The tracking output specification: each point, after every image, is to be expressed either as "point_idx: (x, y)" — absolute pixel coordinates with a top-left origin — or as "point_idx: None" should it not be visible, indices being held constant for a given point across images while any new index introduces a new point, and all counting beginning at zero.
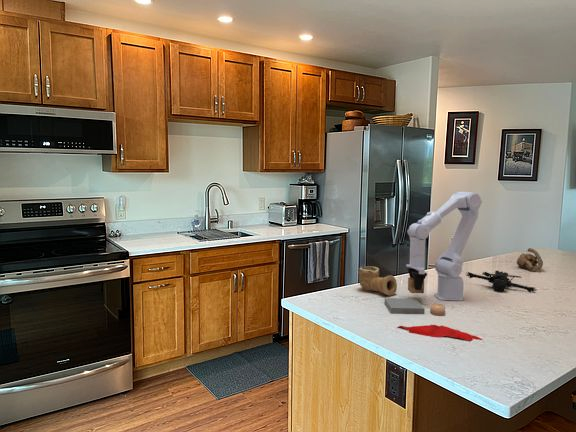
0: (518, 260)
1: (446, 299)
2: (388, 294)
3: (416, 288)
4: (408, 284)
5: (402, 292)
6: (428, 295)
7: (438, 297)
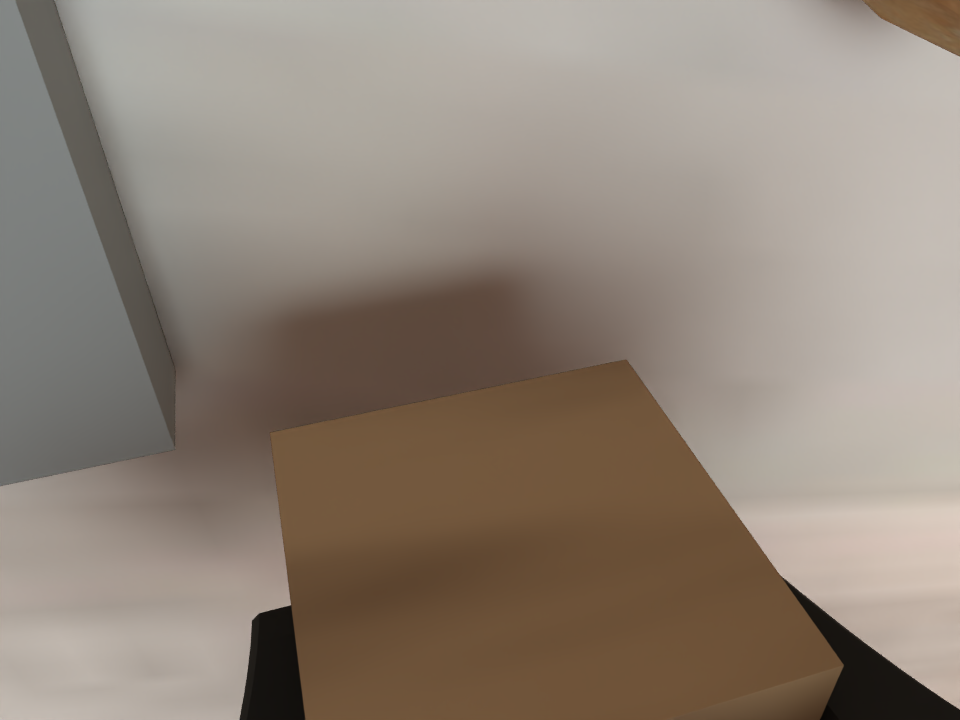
0: None
1: None
2: None
3: (256, 667)
4: (655, 482)
5: (953, 166)
6: None
7: None
